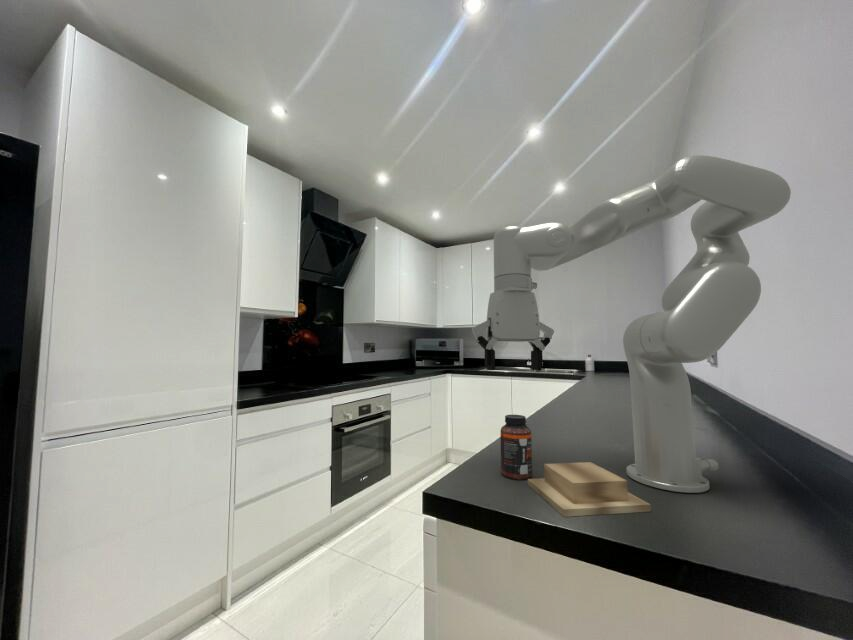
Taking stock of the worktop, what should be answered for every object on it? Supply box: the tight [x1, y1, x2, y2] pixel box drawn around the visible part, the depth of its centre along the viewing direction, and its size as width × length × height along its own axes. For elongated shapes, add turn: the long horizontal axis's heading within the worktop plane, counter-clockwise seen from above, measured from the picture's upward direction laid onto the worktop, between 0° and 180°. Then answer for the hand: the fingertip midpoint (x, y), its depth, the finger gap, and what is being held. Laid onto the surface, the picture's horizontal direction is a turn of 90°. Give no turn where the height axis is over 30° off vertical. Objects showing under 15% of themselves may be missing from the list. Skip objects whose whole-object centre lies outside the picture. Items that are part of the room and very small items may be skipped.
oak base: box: [527, 461, 652, 518], centre depth 54 cm, size 14×12×4 cm
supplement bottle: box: [499, 414, 533, 480], centre depth 65 cm, size 6×6×11 cm
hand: (513, 369), depth 66 cm, fingers open, 9 cm apart
